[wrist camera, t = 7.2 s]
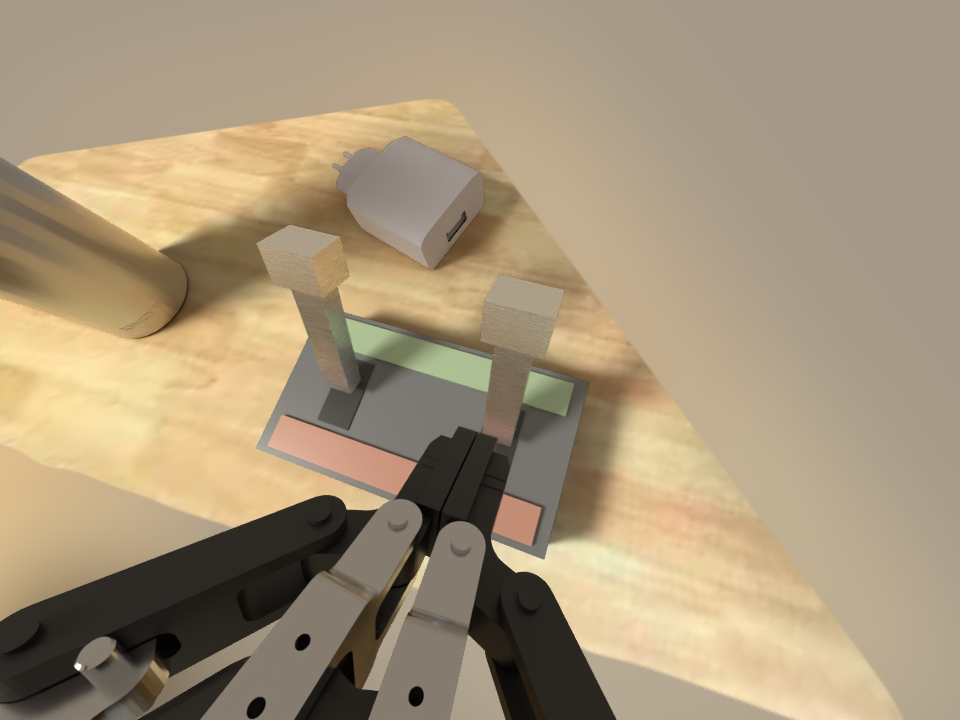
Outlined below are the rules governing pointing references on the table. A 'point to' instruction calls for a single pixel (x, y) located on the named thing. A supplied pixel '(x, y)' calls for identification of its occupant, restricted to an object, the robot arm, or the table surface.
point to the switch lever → (514, 346)
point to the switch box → (426, 422)
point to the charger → (411, 197)
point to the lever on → (316, 296)
